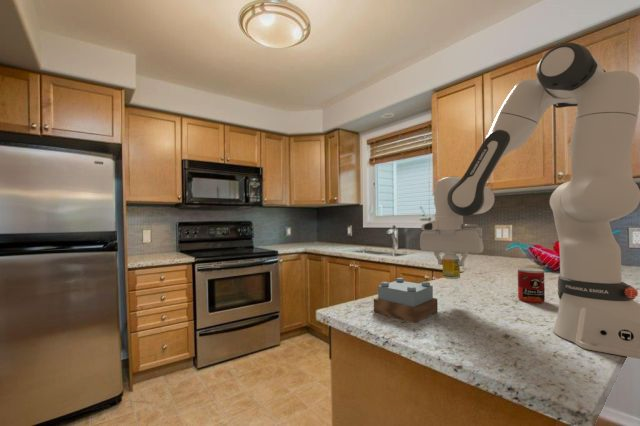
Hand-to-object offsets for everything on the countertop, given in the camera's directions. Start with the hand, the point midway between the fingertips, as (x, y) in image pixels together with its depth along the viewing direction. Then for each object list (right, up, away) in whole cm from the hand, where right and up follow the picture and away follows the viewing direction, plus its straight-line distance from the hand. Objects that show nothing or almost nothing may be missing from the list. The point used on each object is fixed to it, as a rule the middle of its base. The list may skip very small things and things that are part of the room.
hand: (450, 265), depth 102 cm
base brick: (-18, -13, -9) cm, 24 cm away
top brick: (-18, -9, -9) cm, 22 cm away
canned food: (+29, -13, +3) cm, 32 cm away
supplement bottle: (0, -4, 0) cm, 4 cm away
